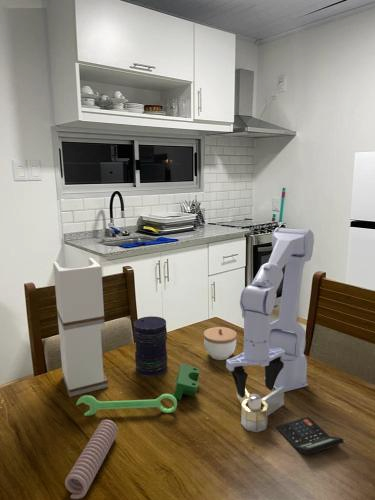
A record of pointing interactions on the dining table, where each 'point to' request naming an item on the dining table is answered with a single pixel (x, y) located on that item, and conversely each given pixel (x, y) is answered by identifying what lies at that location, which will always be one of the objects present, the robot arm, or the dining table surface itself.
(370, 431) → the dining table surface
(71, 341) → the grey boxy piece
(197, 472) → the dining table surface
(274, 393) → the tan ring with arms
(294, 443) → the calculator
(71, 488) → the coil
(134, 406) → the wrench
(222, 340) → the lidded jar
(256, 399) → the hinge pin
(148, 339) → the storage jar
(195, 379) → the clamp
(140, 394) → the dining table surface
